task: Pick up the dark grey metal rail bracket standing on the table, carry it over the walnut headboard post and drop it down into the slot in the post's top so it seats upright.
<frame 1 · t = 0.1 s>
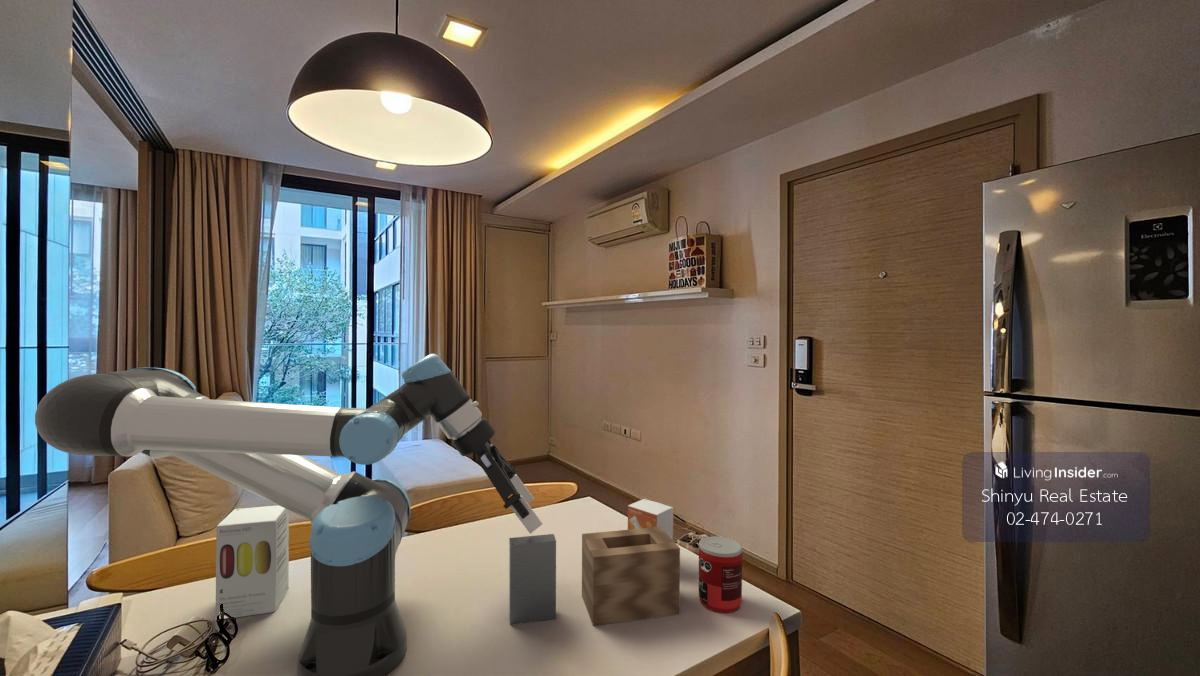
hand: (532, 514, 96), 15 cm above the table, tool tilted 35°, fingers open, 13 cm apart
small box: (649, 565, 108), on the table
supplement box: (254, 604, 92), on the table
rail bracket: (532, 617, 88), on the table
headboard post: (629, 604, 92), on the table
canned food: (719, 603, 93), on the table
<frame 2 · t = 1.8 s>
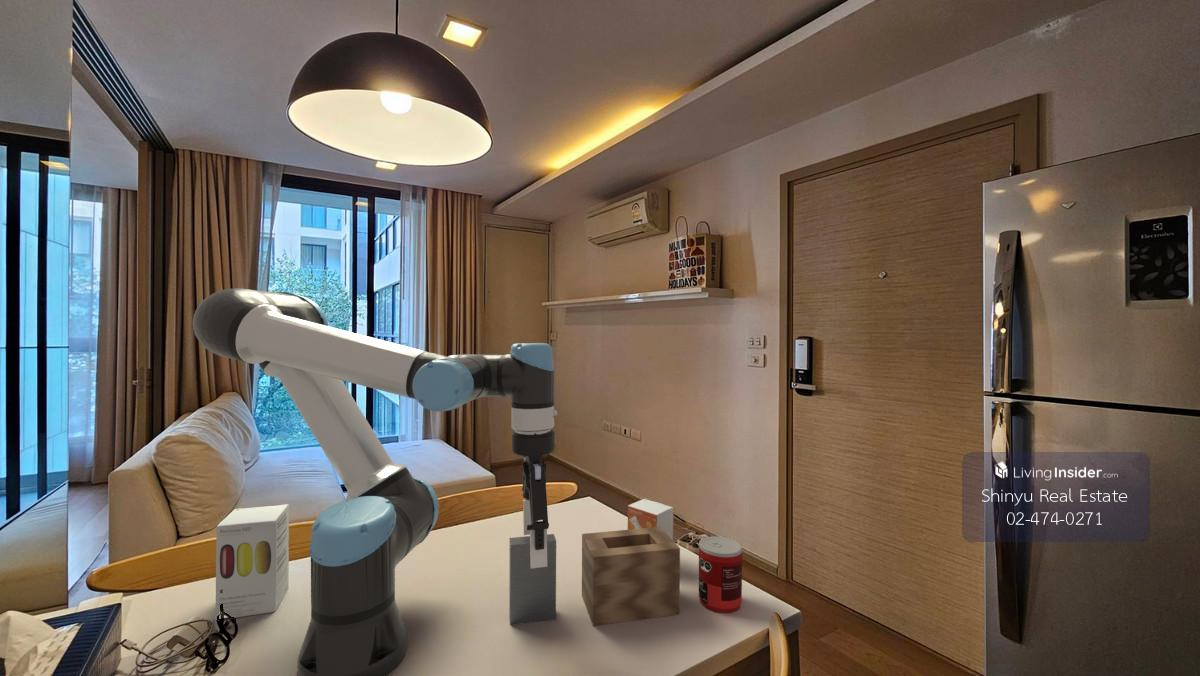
hand: (534, 549, 88), 12 cm above the table, tool pointing down, fingers open, 13 cm apart
nothing on the table moved.
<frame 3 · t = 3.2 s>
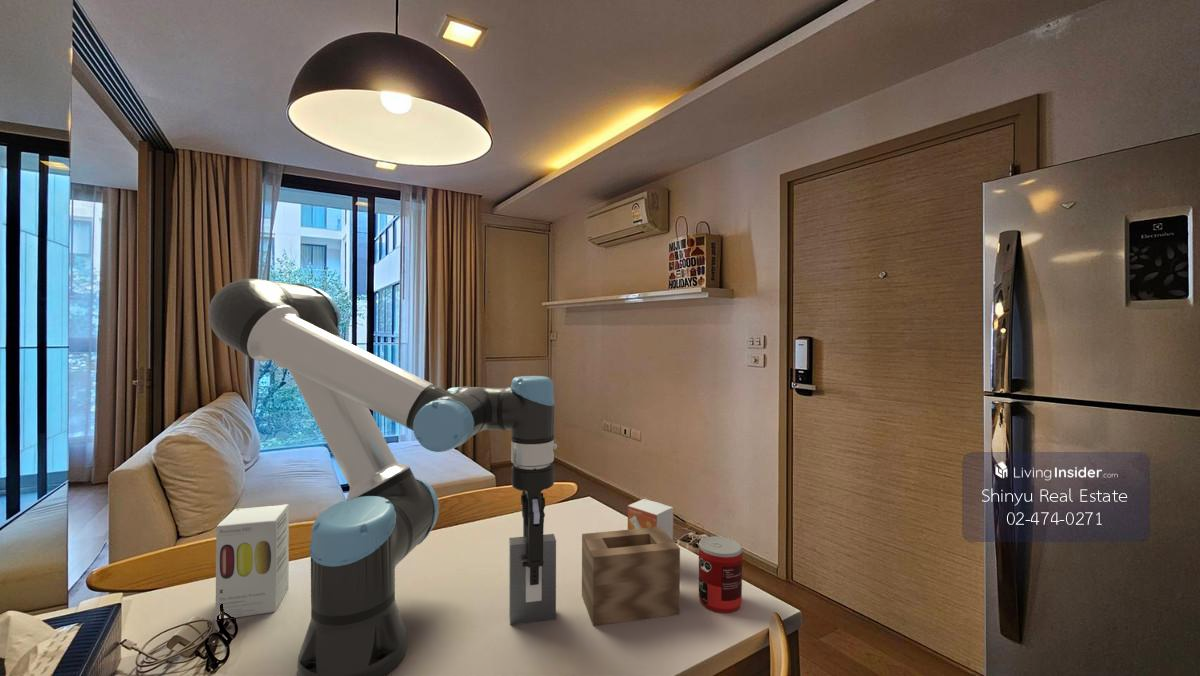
hand: (532, 594, 88), 4 cm above the table, tool pointing down, fingers closed on rail bracket, 3 cm apart
rail bracket: (532, 617, 88), on the table, touching gripper
everything else where it was.
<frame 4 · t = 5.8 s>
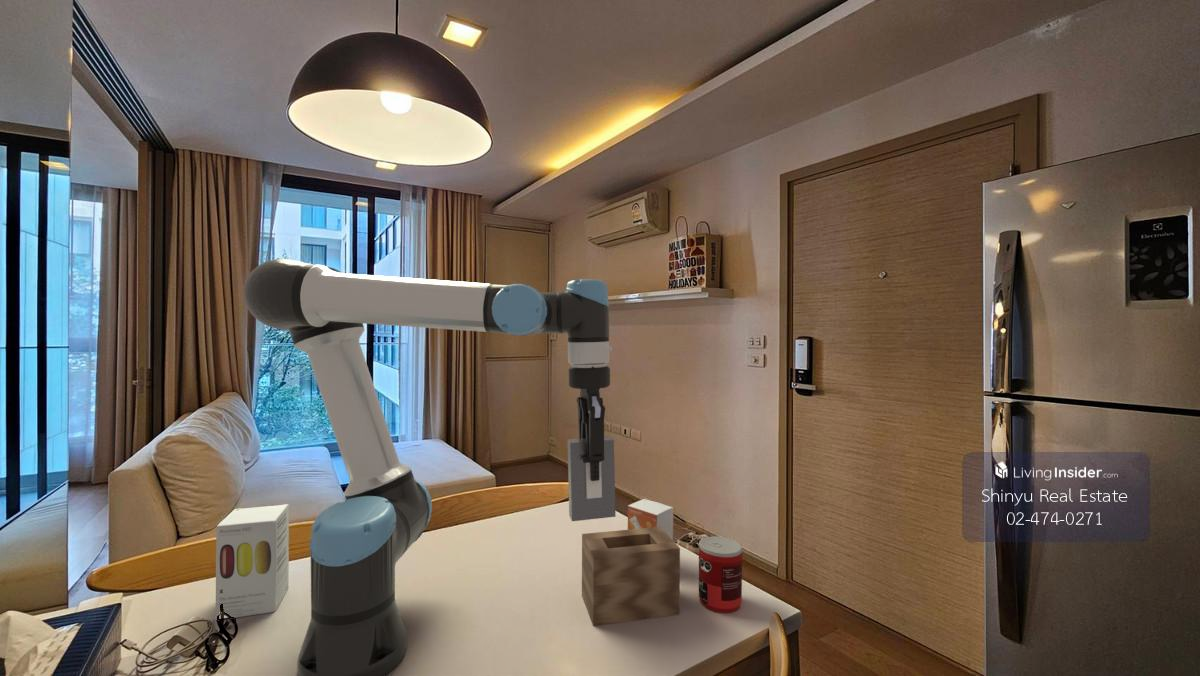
hand: (591, 493, 90), 21 cm above the table, tool pointing down, fingers closed on rail bracket, 3 cm apart
rail bracket: (592, 515, 90), point 17 cm above the table, touching gripper
everything else where it was.
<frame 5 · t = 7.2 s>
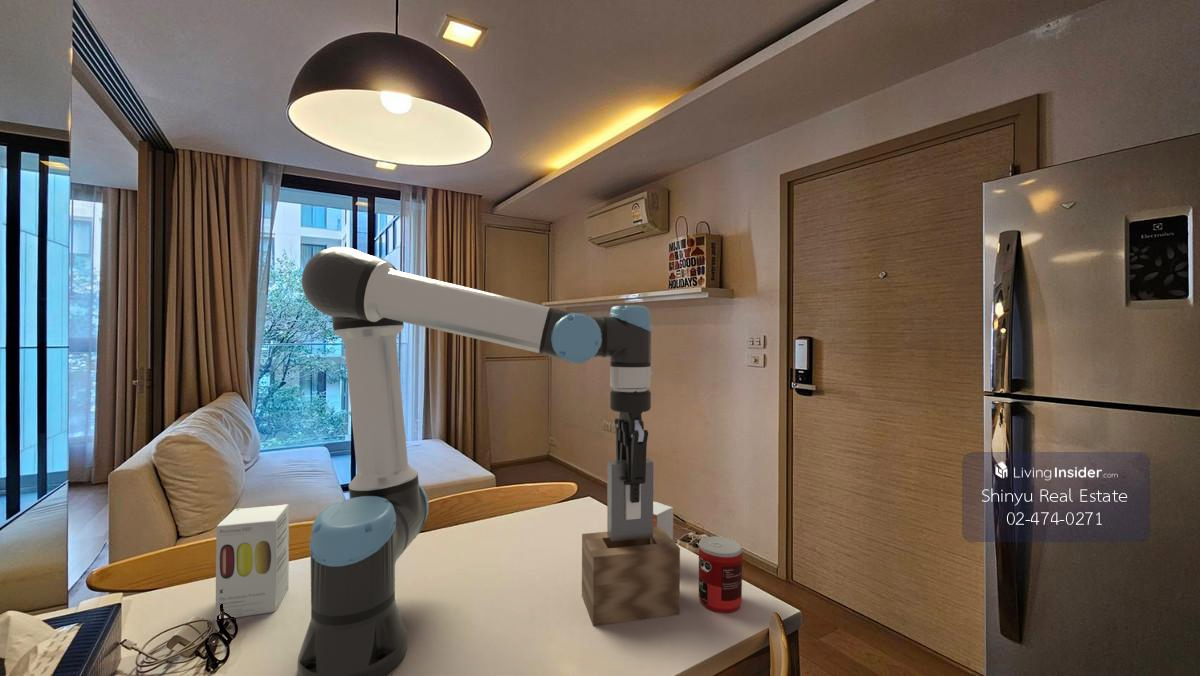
hand: (630, 514, 92), 17 cm above the table, tool pointing down, fingers closed on rail bracket, 3 cm apart
rail bracket: (630, 535, 92), point 13 cm above the table, touching gripper
everything else where it was.
when the fingers open (14 cm above the table, at t = 8.4 s): rail bracket drops 3 cm, resting on headboard post.
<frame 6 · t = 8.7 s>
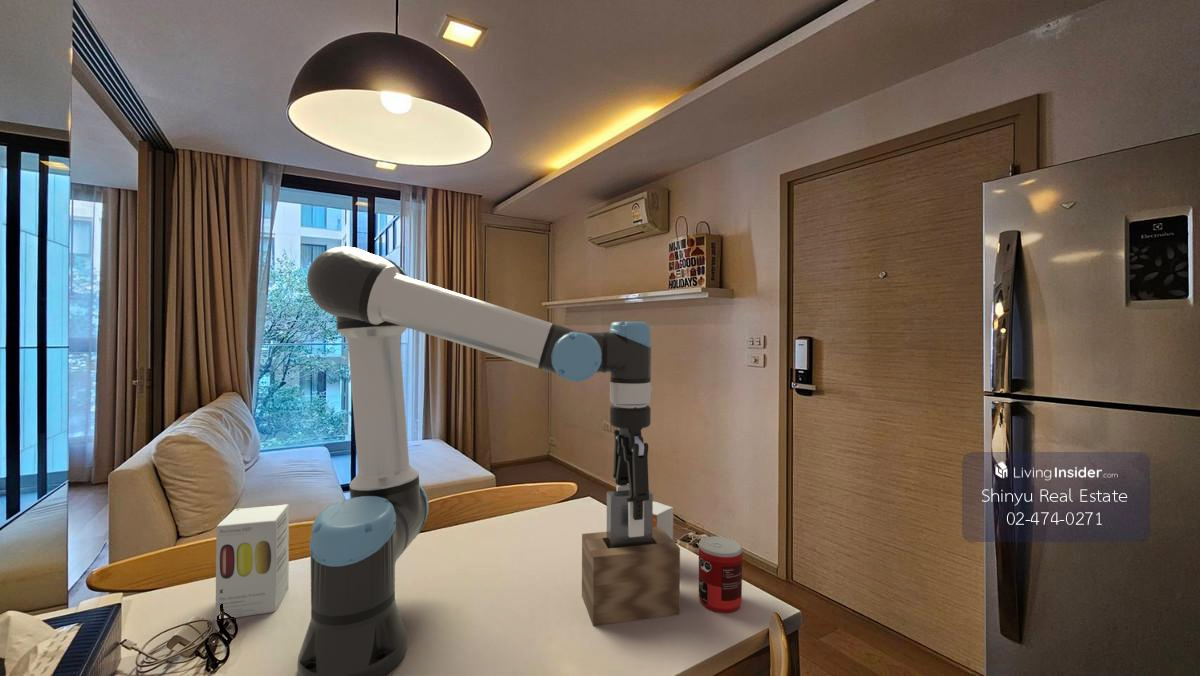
hand: (629, 526, 92), 15 cm above the table, tool pointing down, fingers open, 7 cm apart
rail bracket: (629, 567, 92), point 7 cm above the table, touching headboard post
everything else where it was.
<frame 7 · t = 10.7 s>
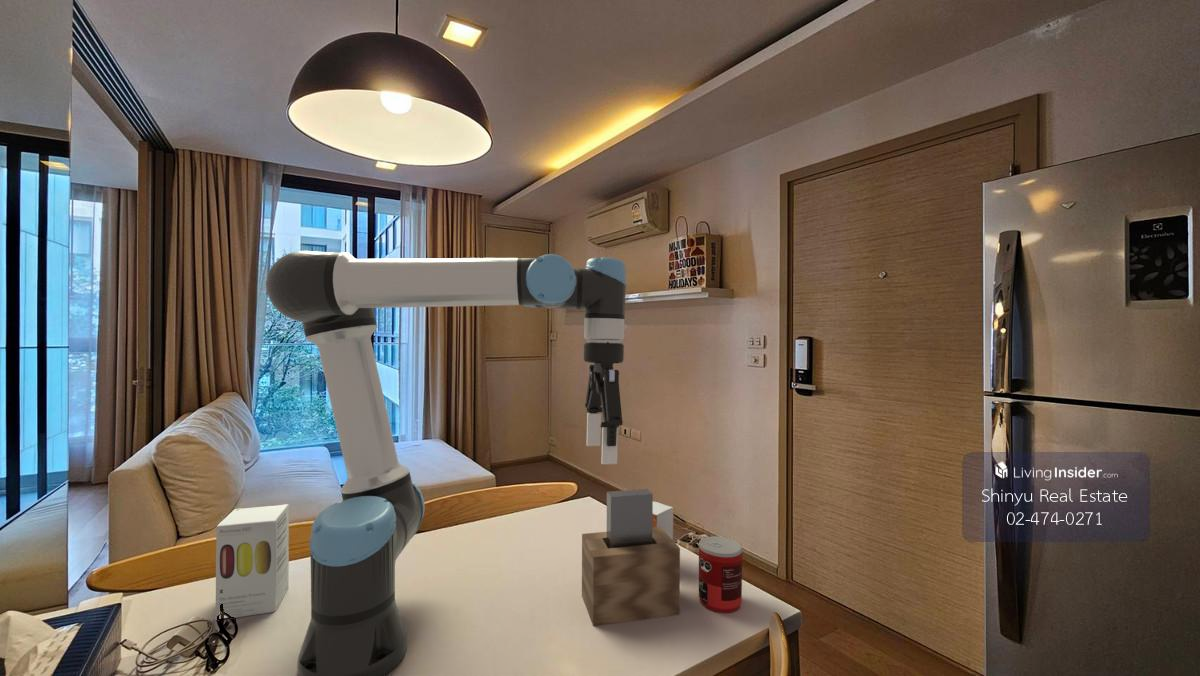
hand: (600, 454, 93), 28 cm above the table, tool pointing down, fingers open, 13 cm apart
nothing on the table moved.
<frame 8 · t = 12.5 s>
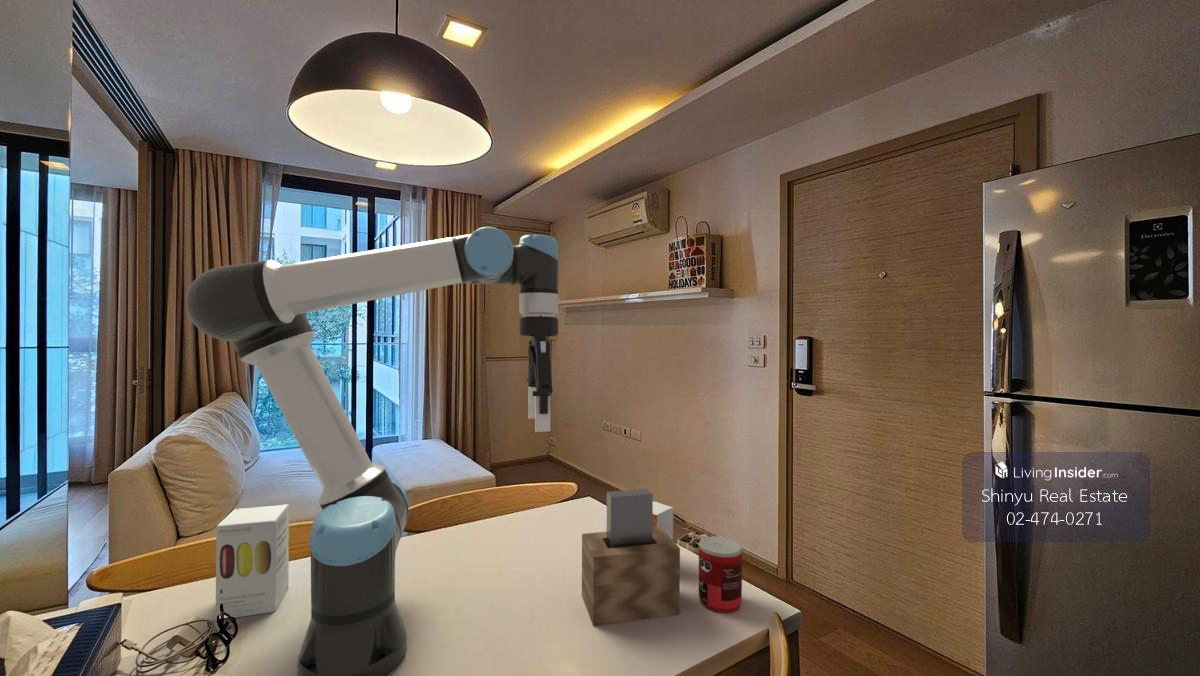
hand: (538, 424, 97), 33 cm above the table, tool pointing down, fingers open, 13 cm apart
nothing on the table moved.
at the end: rail bracket 0.0 cm off-centre on the headboard post, point 7.0 cm above the headboard post's base; rail bracket tilted 0°; the gripper is holding nothing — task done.
